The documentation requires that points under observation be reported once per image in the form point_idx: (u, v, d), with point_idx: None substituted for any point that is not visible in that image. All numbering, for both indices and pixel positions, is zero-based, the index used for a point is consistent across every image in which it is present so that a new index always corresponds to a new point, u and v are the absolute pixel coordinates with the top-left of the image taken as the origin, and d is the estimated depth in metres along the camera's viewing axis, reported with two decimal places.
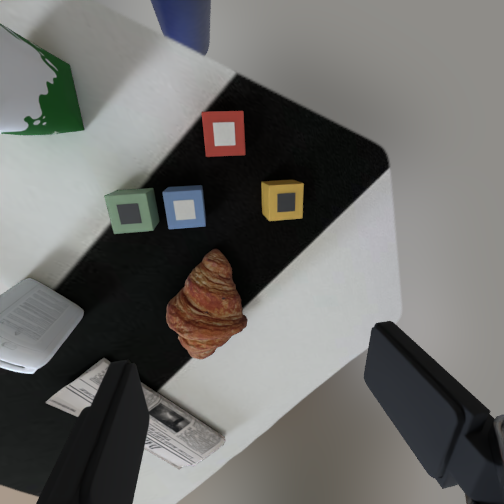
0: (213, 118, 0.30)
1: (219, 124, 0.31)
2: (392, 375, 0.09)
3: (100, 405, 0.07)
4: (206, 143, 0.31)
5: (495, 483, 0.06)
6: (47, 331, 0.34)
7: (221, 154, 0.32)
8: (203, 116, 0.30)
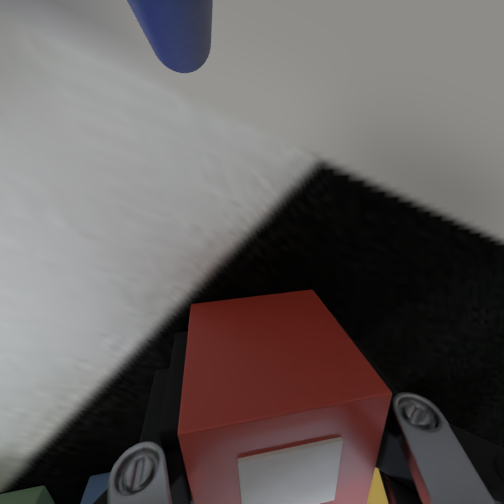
0: (243, 443, 0.06)
1: (272, 457, 0.06)
2: None
3: (178, 364, 0.08)
4: None
5: (402, 462, 0.07)
6: None
7: None
8: (188, 448, 0.06)
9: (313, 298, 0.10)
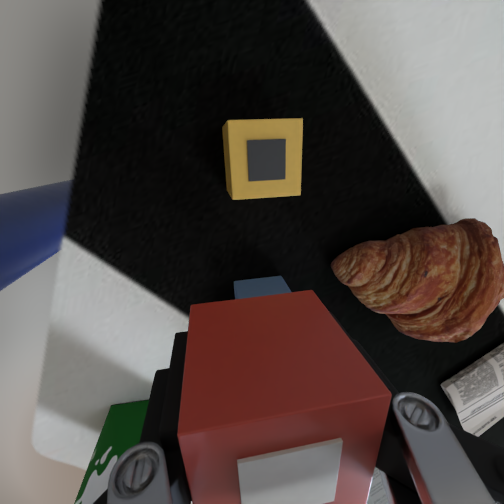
0: (243, 443, 0.06)
1: (272, 458, 0.06)
2: None
3: (178, 364, 0.08)
4: None
5: (402, 461, 0.07)
6: None
7: None
8: (188, 449, 0.06)
9: (313, 299, 0.10)
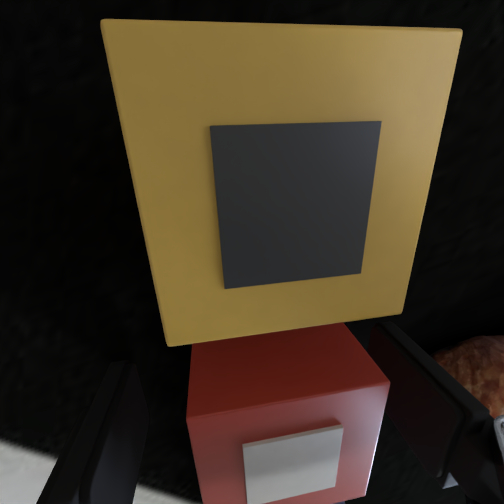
0: (248, 428, 0.06)
1: (275, 443, 0.06)
2: (392, 375, 0.09)
3: (100, 405, 0.07)
4: None
5: (495, 483, 0.06)
6: None
7: None
8: (196, 433, 0.06)
9: None
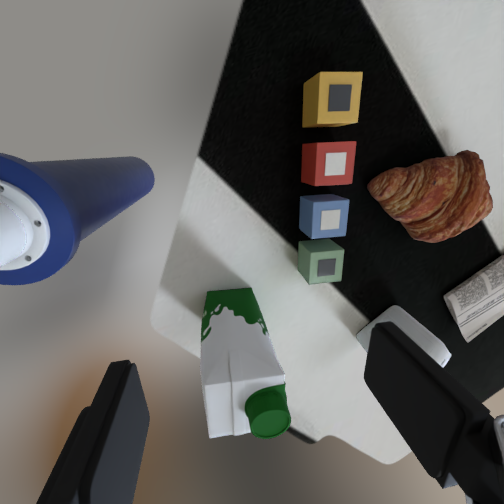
0: (327, 148, 0.30)
1: (332, 155, 0.31)
2: (392, 375, 0.09)
3: (100, 405, 0.07)
4: (317, 173, 0.31)
5: (495, 483, 0.06)
6: (413, 337, 0.41)
7: (329, 183, 0.32)
8: (318, 147, 0.30)
9: None
